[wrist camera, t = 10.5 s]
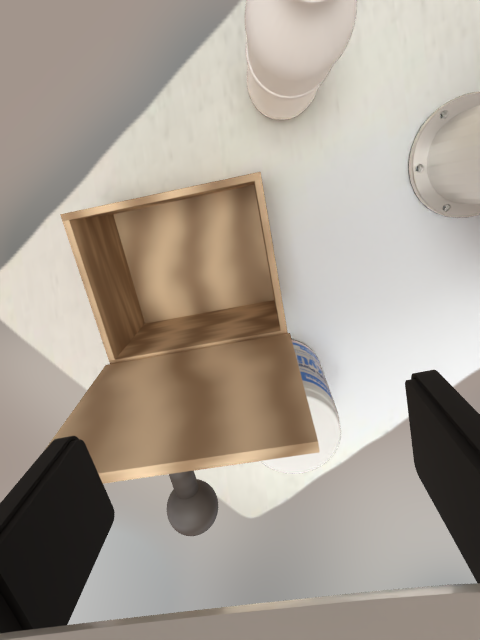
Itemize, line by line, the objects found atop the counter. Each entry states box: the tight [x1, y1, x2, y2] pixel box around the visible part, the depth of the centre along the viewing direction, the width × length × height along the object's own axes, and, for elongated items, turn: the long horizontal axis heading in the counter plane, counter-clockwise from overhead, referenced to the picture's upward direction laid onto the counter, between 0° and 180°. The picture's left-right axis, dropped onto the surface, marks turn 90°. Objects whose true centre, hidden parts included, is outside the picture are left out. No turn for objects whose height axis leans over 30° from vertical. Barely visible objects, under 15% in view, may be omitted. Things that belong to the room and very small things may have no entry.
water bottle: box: [245, 0, 357, 119], centre depth 28 cm, size 7×7×25 cm
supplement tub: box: [260, 340, 341, 474], centre depth 44 cm, size 10×10×15 cm
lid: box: [47, 333, 320, 536], centre depth 31 cm, size 18×15×8 cm
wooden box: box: [61, 172, 288, 364], centre depth 40 cm, size 18×15×12 cm
